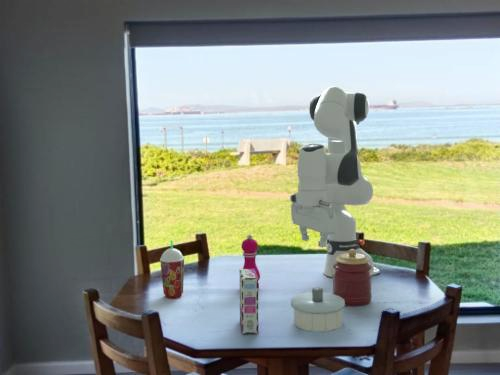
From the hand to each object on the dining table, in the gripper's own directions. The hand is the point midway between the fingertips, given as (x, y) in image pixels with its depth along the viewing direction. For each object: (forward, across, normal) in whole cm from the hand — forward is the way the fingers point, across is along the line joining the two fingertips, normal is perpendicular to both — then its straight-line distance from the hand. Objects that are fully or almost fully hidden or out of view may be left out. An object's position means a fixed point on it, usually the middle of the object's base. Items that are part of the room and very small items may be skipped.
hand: (313, 243), depth 159 cm
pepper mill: (+24, +36, +5) cm, 43 cm away
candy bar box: (+23, +2, +22) cm, 32 cm away
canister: (+24, +8, -20) cm, 32 cm away
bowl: (+23, -4, +2) cm, 24 cm away
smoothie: (+23, +40, +33) cm, 57 cm away
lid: (+18, -4, +2) cm, 18 cm away
